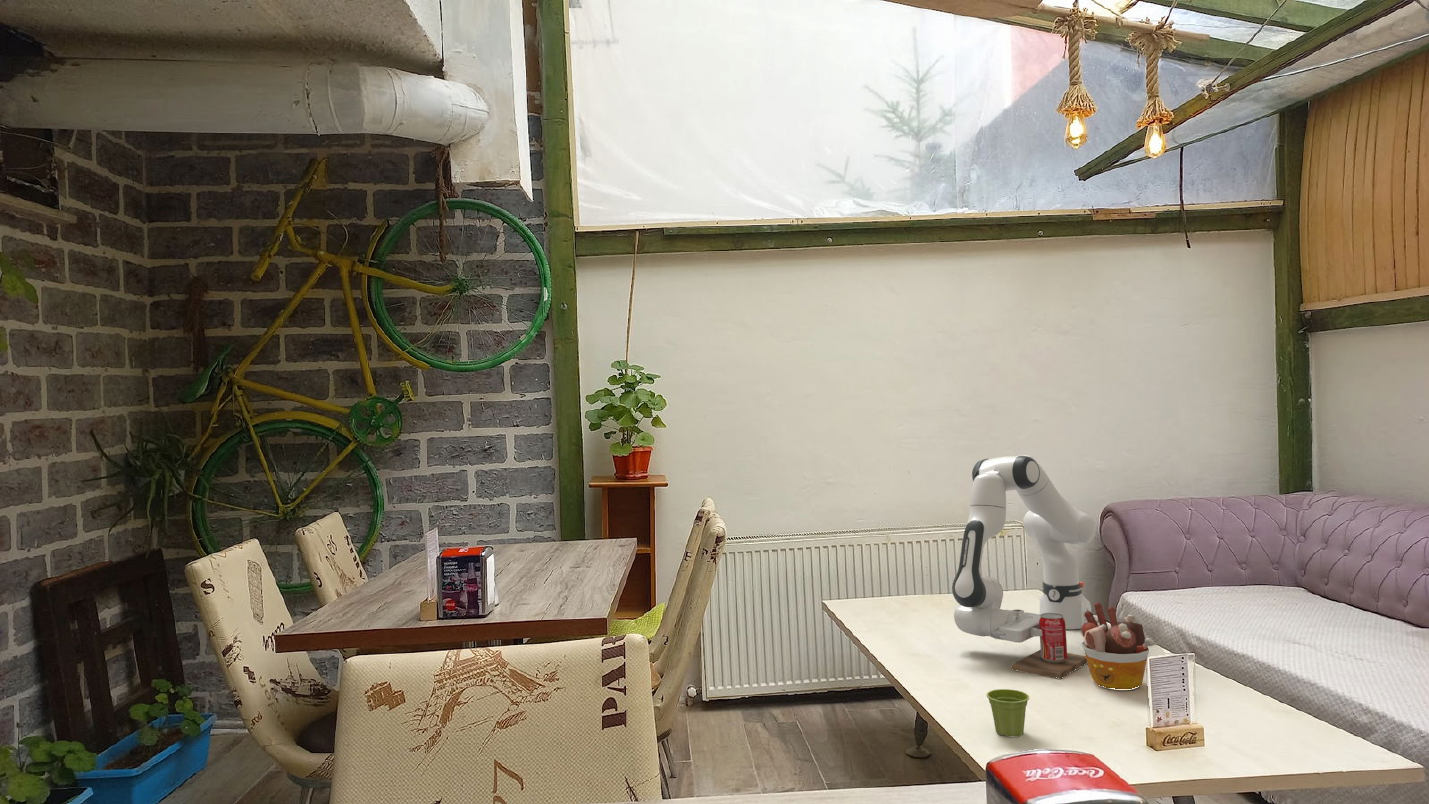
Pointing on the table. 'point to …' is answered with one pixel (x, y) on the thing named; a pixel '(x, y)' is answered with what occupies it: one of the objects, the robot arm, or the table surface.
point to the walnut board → (1049, 665)
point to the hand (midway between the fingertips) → (1052, 632)
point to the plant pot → (1008, 710)
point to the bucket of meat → (1115, 650)
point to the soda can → (1053, 638)
